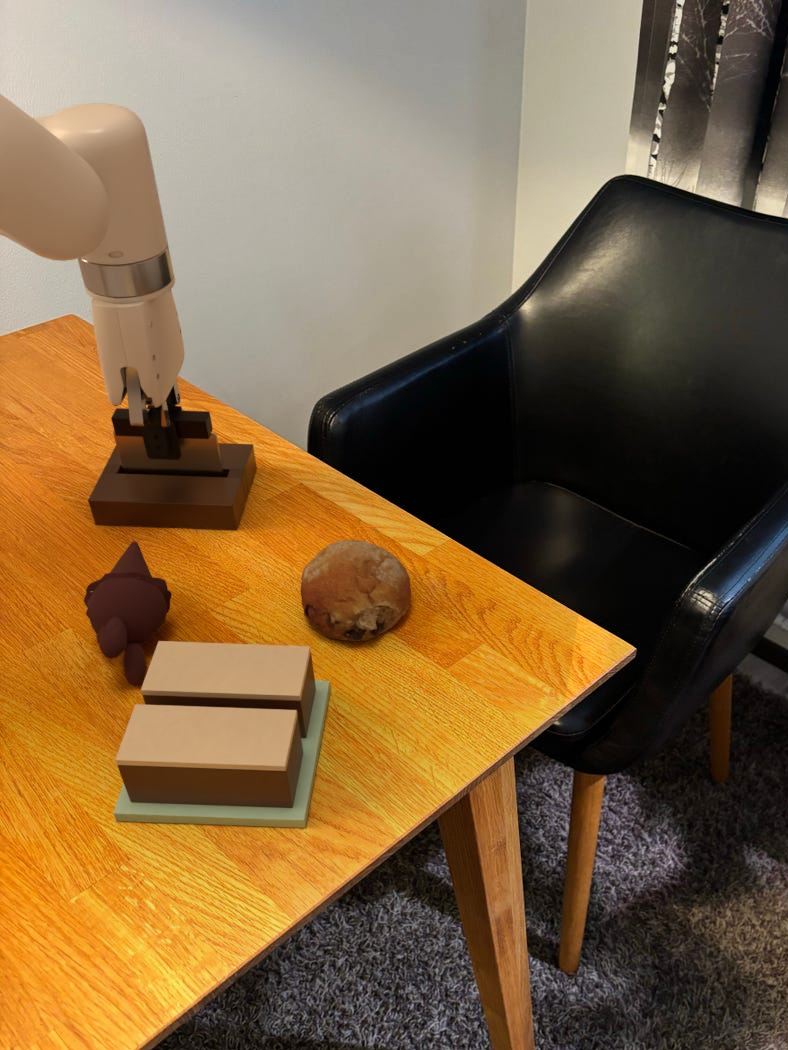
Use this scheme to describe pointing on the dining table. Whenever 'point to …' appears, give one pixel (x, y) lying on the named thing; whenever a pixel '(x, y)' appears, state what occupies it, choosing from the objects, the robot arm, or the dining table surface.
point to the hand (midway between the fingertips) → (168, 448)
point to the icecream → (127, 610)
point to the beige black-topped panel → (193, 439)
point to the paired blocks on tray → (223, 736)
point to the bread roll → (354, 590)
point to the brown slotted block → (175, 494)
